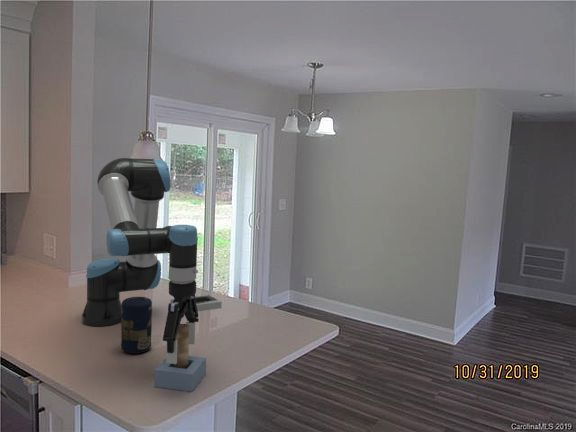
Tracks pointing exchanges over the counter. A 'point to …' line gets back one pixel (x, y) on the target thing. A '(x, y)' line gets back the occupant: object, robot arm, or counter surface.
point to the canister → (136, 324)
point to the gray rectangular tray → (205, 302)
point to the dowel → (182, 346)
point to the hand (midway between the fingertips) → (181, 352)
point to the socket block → (180, 374)
